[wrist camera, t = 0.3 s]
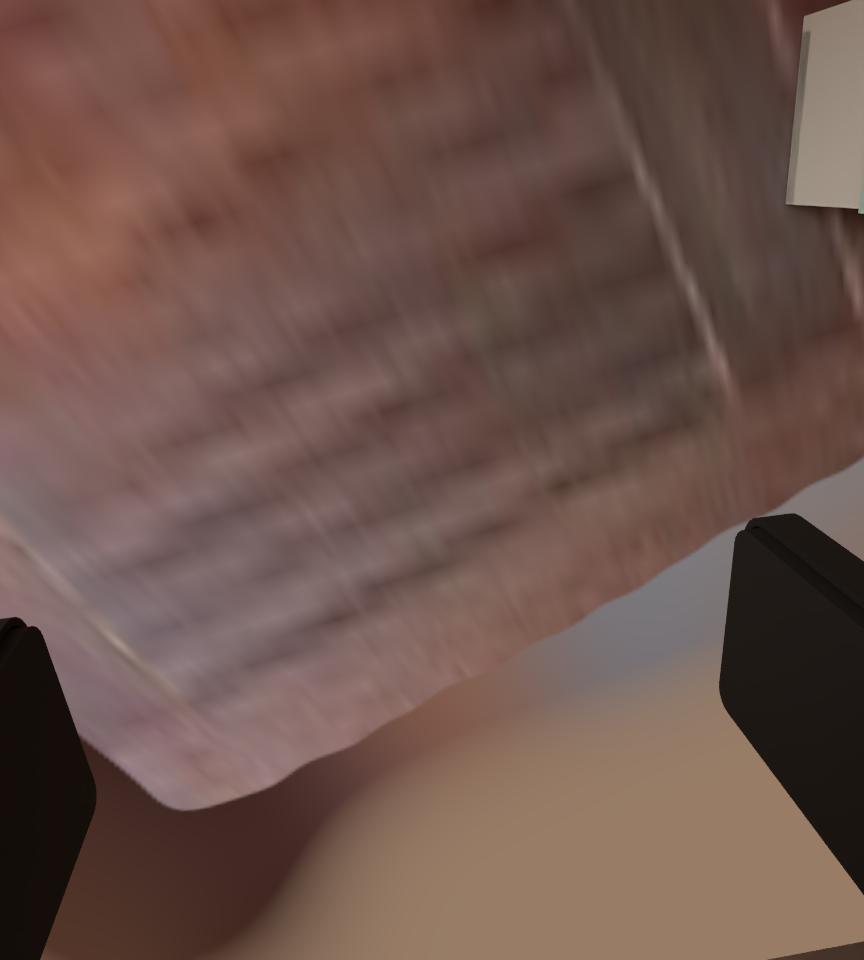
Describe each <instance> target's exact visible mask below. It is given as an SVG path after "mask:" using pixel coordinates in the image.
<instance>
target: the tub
mask: <svg viewBox="0 0 864 960" xmlns="http://www.w3.org/2000/svg"><path fill="white" fill-rule="evenodd" d="M863 175H864V0H851V1H848V2H845V3H842V4H840V5H837V6H834V7H831V8H828V9H825V10H822V11H819V12H816V13H813V14H810V15H807V16H804V21H803V32H802V42H801V52H800V62H799V72H798V82H797V92H796V102H795V113H794V123H793V133H792V143H791V153H790V163H789V173H788V183H787V193H786V204H790V205H806V206H823V207H839V208H855V209H859V204H860V196H861V189H862V182H863Z"/></svg>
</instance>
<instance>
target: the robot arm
mask: <svg viewBox="0 0 864 960" xmlns="http://www.w3.org/2000/svg"><path fill="white" fill-rule="evenodd" d="M719 690H720V696H721V699H722V702H723V705H724V707H725V709H726V710H727V712H728V714H729V715H730V716H731V718H732V719H733V720H734V722H735V723H736V724H737V726H738V727H739V728H740V730H741V731H742V732H743V734H744V735H745V736H746V738H747V739H748V740H749V742H750V743H751V744H752V746H753V747H754V749H755V750H756V751H757V753H758V754H759V755H760V757H761V758H762V759H763V760H764V762H765V763H766V764H767V766H768V767H769V769H770V770H771V771H772V773H773V774H774V775H775V777H776V778H777V779H778V780H779V782H780V783H781V785H782V786H783V787H784V789H785V790H786V791H787V793H788V794H789V795H790V797H791V798H792V799H793V801H794V802H795V803H796V805H797V806H798V807H799V809H800V810H801V811H802V813H803V814H804V815H805V817H806V818H807V820H808V821H809V822H810V824H811V825H812V826H813V828H814V829H815V830H816V831H817V833H818V834H819V836H820V837H821V838H822V839H823V841H824V842H825V844H826V845H827V846H828V848H829V849H830V850H831V852H832V853H833V854H834V856H835V857H836V858H837V860H838V861H839V862H840V864H841V865H842V866H843V868H844V869H845V870H846V872H847V873H848V874H849V876H850V877H851V878H852V880H853V881H854V883H855V884H856V885H857V886H858V888H859V889H860V890H861V892H862V893H863V895H864V561H862V560H861V559H859V558H858V557H857V556H855V555H854V554H852V553H851V552H850V551H848V550H847V549H845V548H844V547H843V546H841V545H840V544H838V543H837V542H836V541H834V540H833V539H831V538H830V537H829V536H827V535H826V534H824V533H823V532H822V531H820V530H819V529H818V528H816V527H815V526H813V525H812V524H811V523H809V522H808V521H806V520H805V519H804V518H802V517H801V516H799V515H797V514H783V515H776V516H768V517H760V518H753V519H752V520H750V521H749V522H748V524H747V526H746V528H745V530H741V531H740V532H738V534H737V536H736V538H735V543H734V552H733V562H732V571H731V580H730V589H729V599H728V608H727V617H726V626H725V635H724V644H723V654H722V663H721V672H720V681H719ZM95 806H96V785H95V781H94V778H93V775H92V772H91V770H90V767H89V764H88V761H87V759H86V756H85V753H84V750H83V747H82V744H81V742H80V739H79V736H78V733H77V730H76V727H75V725H74V722H73V719H72V716H71V713H70V711H69V708H68V705H67V702H66V699H65V697H64V694H63V691H62V688H61V685H60V683H59V680H58V677H57V674H56V671H55V668H54V666H53V663H52V660H51V657H50V654H49V652H48V649H47V646H46V643H45V640H44V638H43V635H42V633H41V631H40V630H39V629H38V628H37V627H35V626H31V627H27V625H26V624H25V623H24V622H23V620H22V619H20V618H17V617H13V618H5V619H0V960H40V958H41V955H42V953H43V950H44V947H45V945H46V942H47V939H48V936H49V934H50V931H51V928H52V926H53V923H54V920H55V917H56V915H57V912H58V909H59V907H60V904H61V901H62V899H63V896H64V893H65V890H66V888H67V885H68V882H69V879H70V876H71V874H72V871H73V869H74V866H75V863H76V860H77V858H78V855H79V852H80V849H81V847H82V844H83V841H84V839H85V836H86V833H87V831H88V828H89V825H90V822H91V820H92V817H93V814H94V810H95ZM769 960H864V942H859V943H853V944H848V945H843V946H838V947H832V948H827V949H822V950H816V951H811V952H806V953H801V954H795V955H790V956H784V957H780V958H774V959H769Z"/></svg>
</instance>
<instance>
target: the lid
mask: <svg viewBox="0 0 864 960" xmlns="http://www.w3.org/2000/svg"><path fill="white" fill-rule="evenodd" d="M858 213H861V214H864V175H863V182H862V189H861V196H860V204H859V211H858Z"/></svg>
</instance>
